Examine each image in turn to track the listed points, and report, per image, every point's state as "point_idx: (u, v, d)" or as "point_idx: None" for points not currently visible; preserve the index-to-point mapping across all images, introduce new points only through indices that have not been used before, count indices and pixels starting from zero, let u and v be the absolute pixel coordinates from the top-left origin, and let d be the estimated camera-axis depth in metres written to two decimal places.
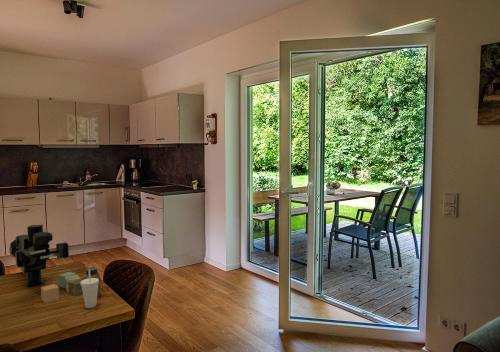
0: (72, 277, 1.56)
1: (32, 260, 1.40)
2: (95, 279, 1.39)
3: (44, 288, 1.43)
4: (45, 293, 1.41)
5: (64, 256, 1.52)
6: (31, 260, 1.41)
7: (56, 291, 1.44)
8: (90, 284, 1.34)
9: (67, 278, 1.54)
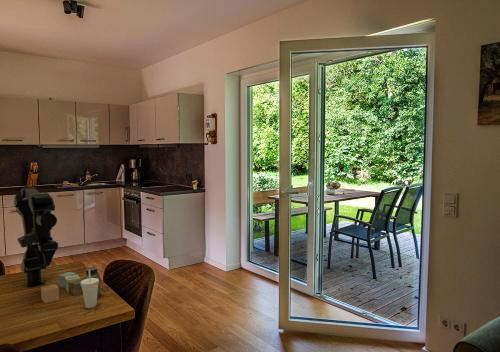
0: (72, 277, 1.56)
1: None
2: (95, 279, 1.39)
3: (44, 288, 1.43)
4: (45, 293, 1.41)
5: None
6: None
7: (56, 291, 1.44)
8: (90, 284, 1.34)
9: (67, 278, 1.54)
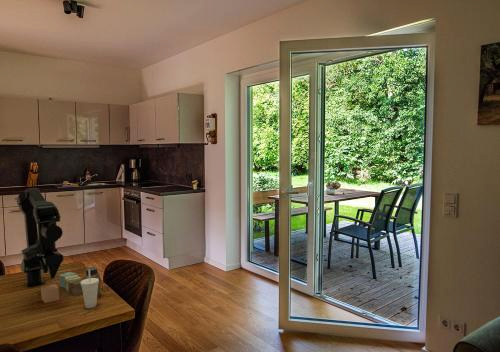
0: (72, 277, 1.56)
1: None
2: (95, 279, 1.39)
3: (44, 288, 1.43)
4: (45, 293, 1.41)
5: None
6: None
7: (56, 291, 1.44)
8: (90, 284, 1.34)
9: (67, 278, 1.54)
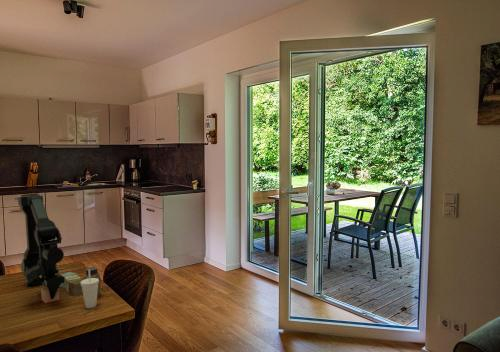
0: (72, 277, 1.56)
1: None
2: (95, 279, 1.39)
3: (44, 288, 1.43)
4: (45, 293, 1.41)
5: None
6: None
7: None
8: (90, 284, 1.34)
9: (67, 278, 1.54)
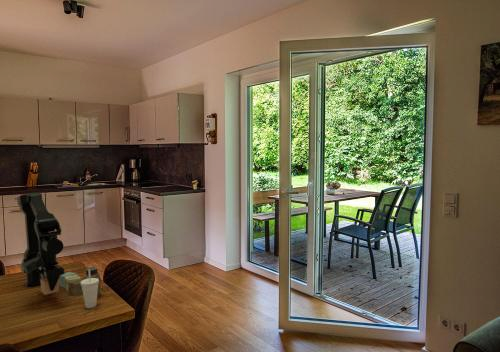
0: (72, 277, 1.56)
1: None
2: (95, 279, 1.39)
3: (44, 280, 1.43)
4: (45, 284, 1.41)
5: None
6: None
7: (56, 283, 1.44)
8: (90, 284, 1.34)
9: (67, 278, 1.54)
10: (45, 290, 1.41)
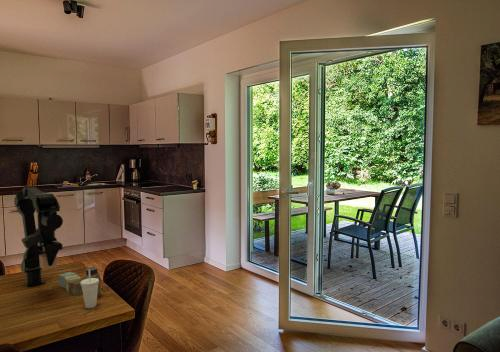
0: (72, 277, 1.56)
1: None
2: (95, 279, 1.39)
3: (42, 255, 1.46)
4: (43, 260, 1.44)
5: None
6: None
7: None
8: (90, 284, 1.34)
9: (67, 278, 1.54)
10: (44, 265, 1.44)
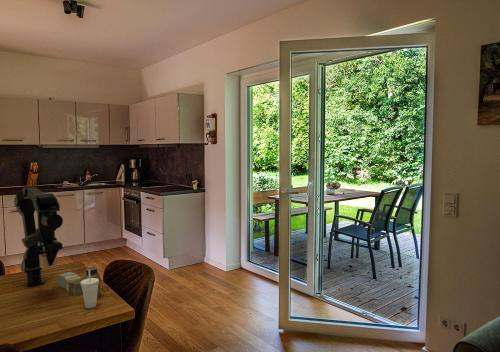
0: (72, 277, 1.56)
1: None
2: (95, 279, 1.39)
3: (42, 255, 1.46)
4: (43, 259, 1.44)
5: None
6: None
7: None
8: (90, 284, 1.34)
9: (67, 278, 1.54)
10: (44, 265, 1.44)
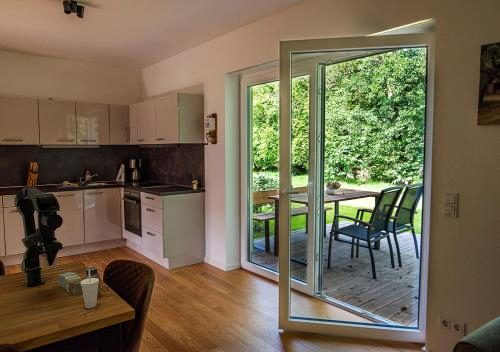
0: (72, 277, 1.56)
1: None
2: (95, 279, 1.39)
3: (42, 255, 1.46)
4: (43, 259, 1.44)
5: None
6: None
7: None
8: (90, 284, 1.34)
9: (67, 278, 1.54)
10: (44, 265, 1.44)
